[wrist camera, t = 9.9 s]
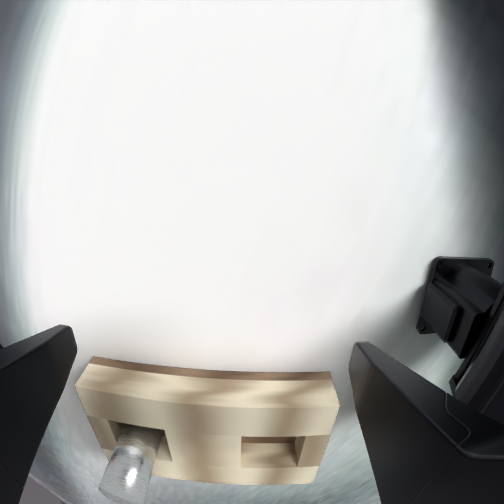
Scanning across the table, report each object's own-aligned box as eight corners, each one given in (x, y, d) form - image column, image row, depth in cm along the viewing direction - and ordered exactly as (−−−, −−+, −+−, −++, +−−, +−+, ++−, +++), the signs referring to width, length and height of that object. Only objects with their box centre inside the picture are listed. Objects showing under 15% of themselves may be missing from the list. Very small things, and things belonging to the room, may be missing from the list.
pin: (163, 408, 24) (136, 492, 16) (169, 432, 25) (147, 510, 17) (126, 402, 24) (92, 480, 16) (134, 426, 25) (107, 500, 17)
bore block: (329, 371, 24) (339, 405, 20) (308, 453, 28) (312, 482, 24) (93, 356, 24) (74, 385, 20) (121, 439, 28) (111, 466, 24)
